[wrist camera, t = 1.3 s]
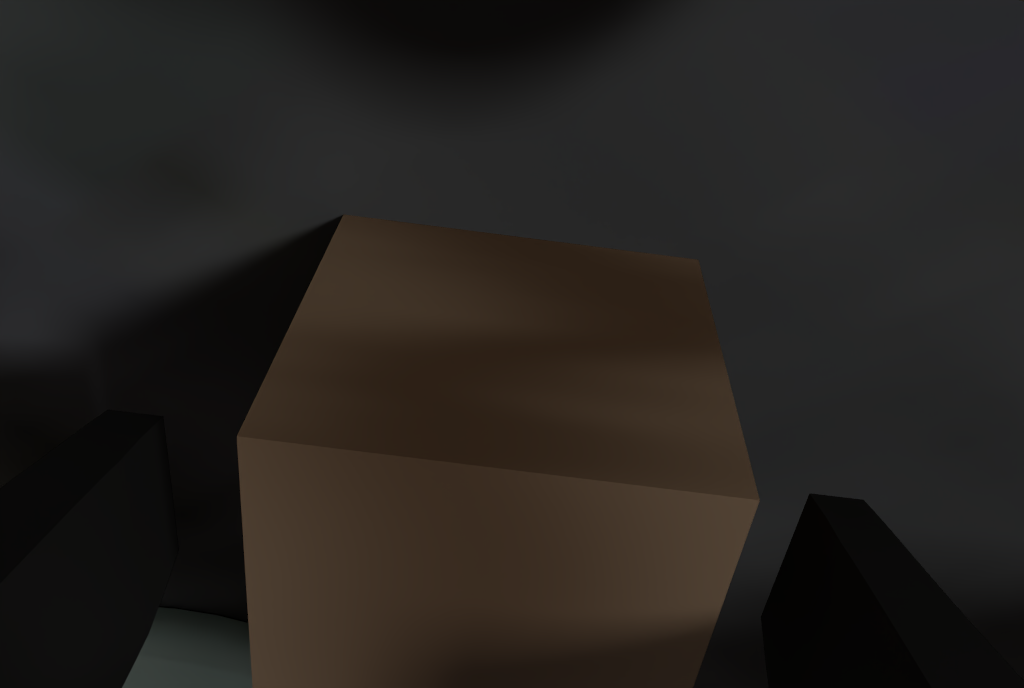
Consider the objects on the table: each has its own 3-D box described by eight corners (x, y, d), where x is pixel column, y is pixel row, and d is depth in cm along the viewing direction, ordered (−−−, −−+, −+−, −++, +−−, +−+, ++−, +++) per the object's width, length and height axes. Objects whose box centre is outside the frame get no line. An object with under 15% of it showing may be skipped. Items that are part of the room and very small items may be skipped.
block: (697, 256, 12) (760, 500, 8) (630, 514, 14) (654, 794, 10) (344, 212, 12) (236, 435, 8) (340, 479, 14) (255, 748, 10)
